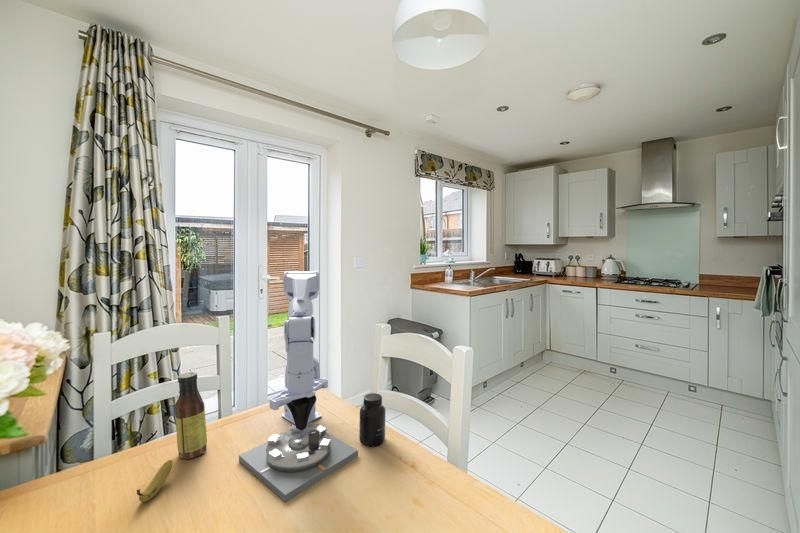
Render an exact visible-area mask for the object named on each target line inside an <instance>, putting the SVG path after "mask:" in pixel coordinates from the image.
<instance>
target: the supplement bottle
mask: <svg viewBox="0 0 800 533" xmlns="http://www.w3.org/2000/svg"><path fill="white" fill-rule="evenodd" d="M382 400H383V396H382V395H381V394H379V393H377V392H376V393H374V392H371V393H366V394H365V395H364V396H363V400H362V401H363V402H362V403H363V405H362V406H361V407H360V409H359V426H358V427H359V432H358V433H359V442H360V444H361V446H364V447H367V448H378V447H380V446H381V445H383V444H384V443H385V440H386V407H385V406H384V405H383V401H382Z"/></svg>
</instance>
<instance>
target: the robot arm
mask: <svg viewBox="0 0 800 533" xmlns="http://www.w3.org/2000/svg"><path fill="white" fill-rule="evenodd" d="M282 280H283V281H282V282H283V283H282V286H283V291H284V295H285V296H284V297H285V298H286V299H287V300H290V302H289V304H288V306H287V307H288V308H287V317H286V318H287V319H284V322H283V324H284V325H283V338H284V343H285V352H286V363H285V371H284V387H285V389H283V390H282V391H281V392H280V393H278V394H277V395H275V396H274V397H272V398H269V409H271V410H273V411H277V410H279V409H280V407H284V408H283V413H282V414H281V418H284V419H285V420H287V421H289V422H290V423H292V424H293V425H295V426H296V428H297V429H299V430H301V431H302V430H304V429H305V428H306V426H307V423H309V422H310V423H312V422H314V421H315V420H318V419H320V418H321V417H322V414H321V413H319V412H318V411H317V410H316V409H317V408H316V402H317V395H316V392H317V391H319V390H321V389H327V388H328V387H329V381H328V380H329V379H327V378H324V377H321V374H320V373H321V372H320V371H321V369H320V361H319V360H318V358H317V357H315V356H314V341H316V340H315V338H316V319H315V316H314V308H313V302H312V300H314V299H317V298H318V296H319V292H320V272H319V271H318V270H312V271H311V270H310V271H309V270H308V271H307V270H304V271H302V270H301V271H297V270H295V271H294V270H293V271H288V270H285V271H284V272H283V279H282Z"/></svg>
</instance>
